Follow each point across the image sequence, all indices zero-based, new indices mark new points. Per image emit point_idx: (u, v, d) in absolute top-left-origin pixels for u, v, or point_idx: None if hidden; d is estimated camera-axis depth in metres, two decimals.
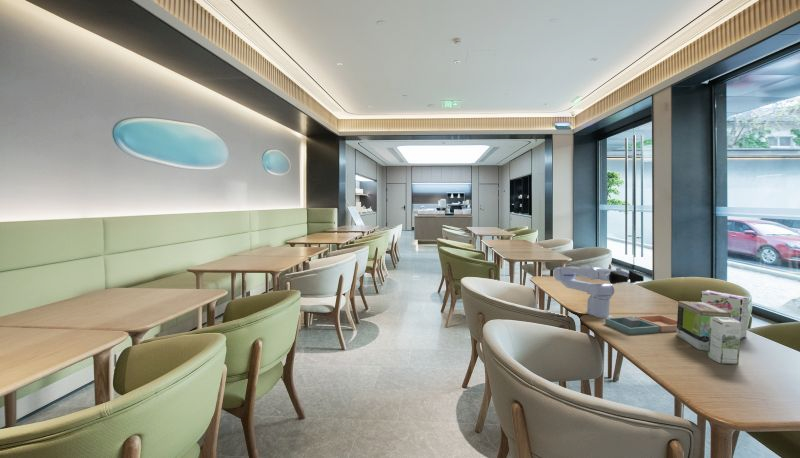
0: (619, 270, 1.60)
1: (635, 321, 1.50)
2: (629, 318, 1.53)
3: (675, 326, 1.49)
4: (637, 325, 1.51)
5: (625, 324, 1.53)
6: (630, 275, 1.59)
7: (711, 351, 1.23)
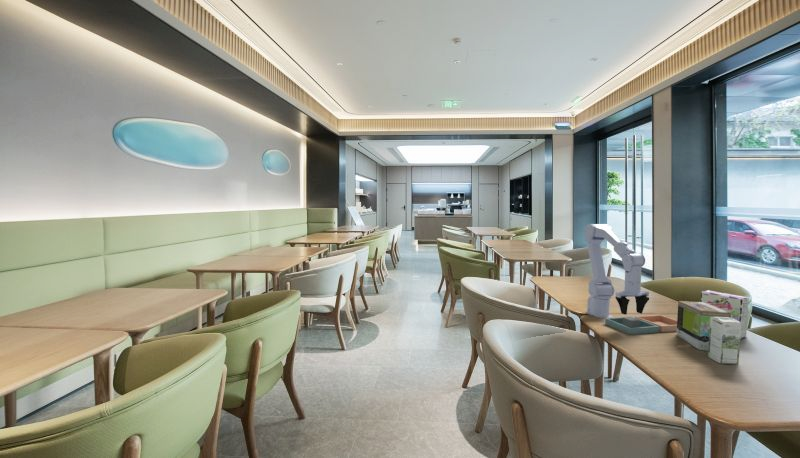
0: None
1: (635, 321, 1.50)
2: (629, 318, 1.53)
3: (675, 326, 1.49)
4: (637, 325, 1.51)
5: (625, 324, 1.53)
6: (641, 298, 1.52)
7: (711, 351, 1.23)
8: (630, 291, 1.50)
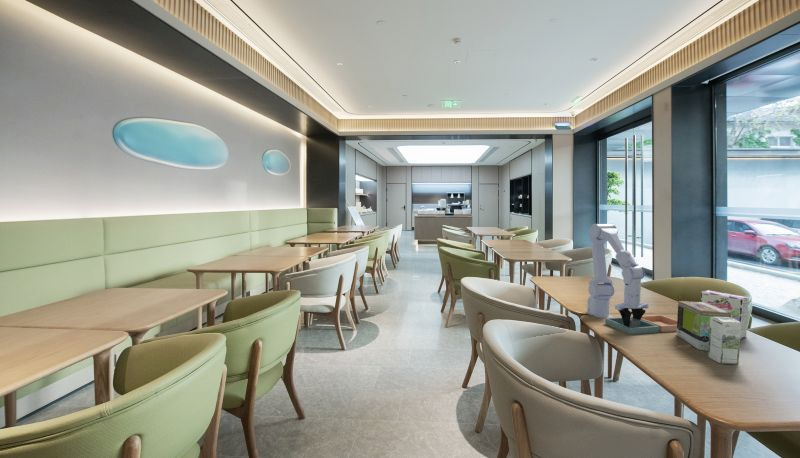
0: (637, 307, 1.50)
1: (635, 321, 1.50)
2: None
3: (675, 326, 1.49)
4: (637, 325, 1.51)
5: None
6: (637, 311, 1.52)
7: (711, 351, 1.23)
8: (629, 304, 1.51)
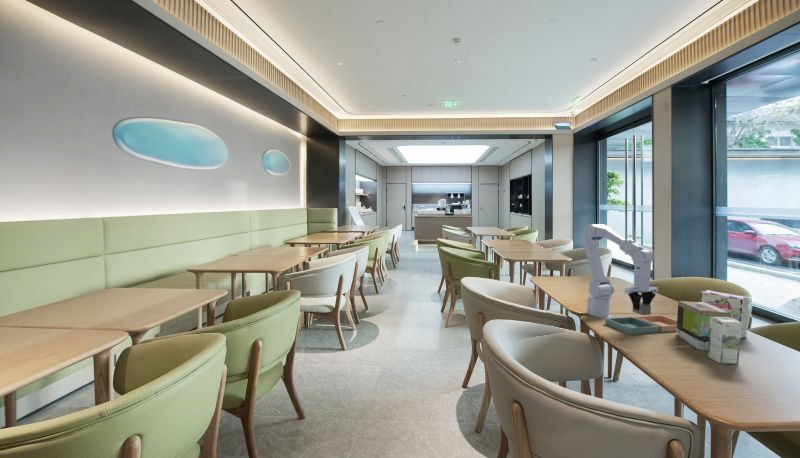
0: (647, 291, 1.50)
1: (646, 306, 1.50)
2: None
3: (675, 326, 1.49)
4: (647, 310, 1.51)
5: None
6: (647, 294, 1.53)
7: (711, 351, 1.23)
8: (639, 287, 1.51)
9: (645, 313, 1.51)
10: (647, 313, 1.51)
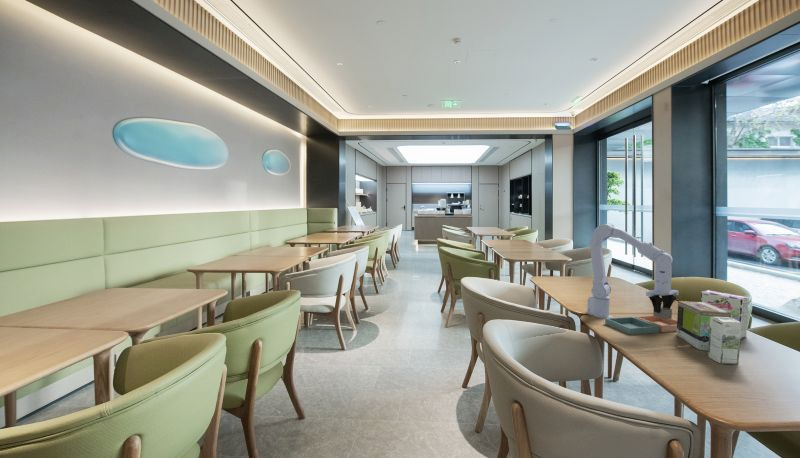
0: None
1: (667, 310, 1.52)
2: None
3: (675, 326, 1.49)
4: (669, 314, 1.53)
5: (656, 313, 1.56)
6: (667, 297, 1.55)
7: (711, 351, 1.23)
8: (661, 290, 1.53)
9: (666, 317, 1.53)
10: (668, 317, 1.53)
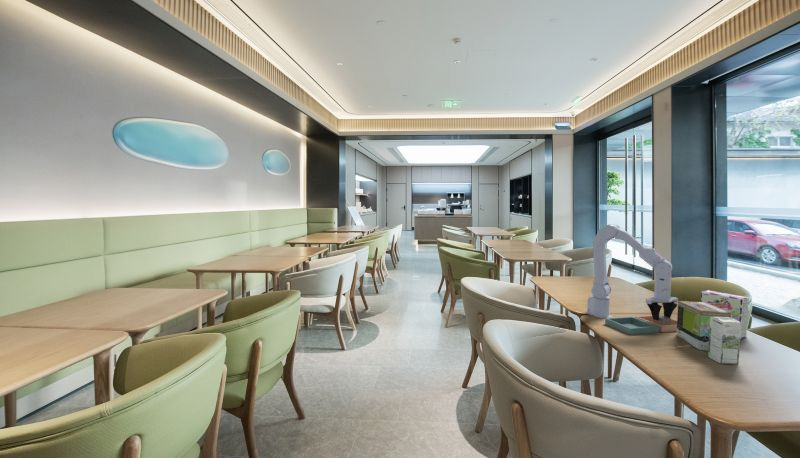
0: (668, 301, 1.52)
1: (666, 319, 1.53)
2: (660, 316, 1.55)
3: (675, 326, 1.49)
4: (668, 323, 1.53)
5: (656, 322, 1.56)
6: (668, 305, 1.55)
7: (711, 351, 1.23)
8: (660, 298, 1.53)
9: None
10: None
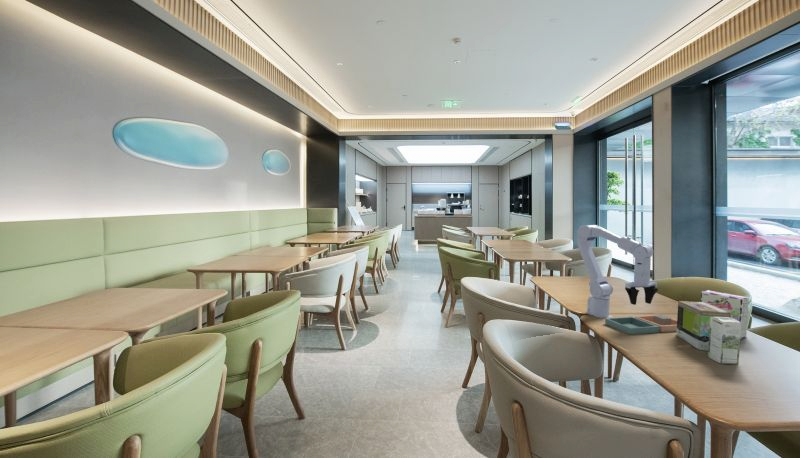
0: (647, 285, 1.54)
1: (666, 319, 1.53)
2: (660, 316, 1.55)
3: (675, 326, 1.49)
4: (668, 323, 1.53)
5: (656, 322, 1.56)
6: (649, 289, 1.57)
7: (711, 351, 1.23)
8: (640, 282, 1.54)
9: None
10: None
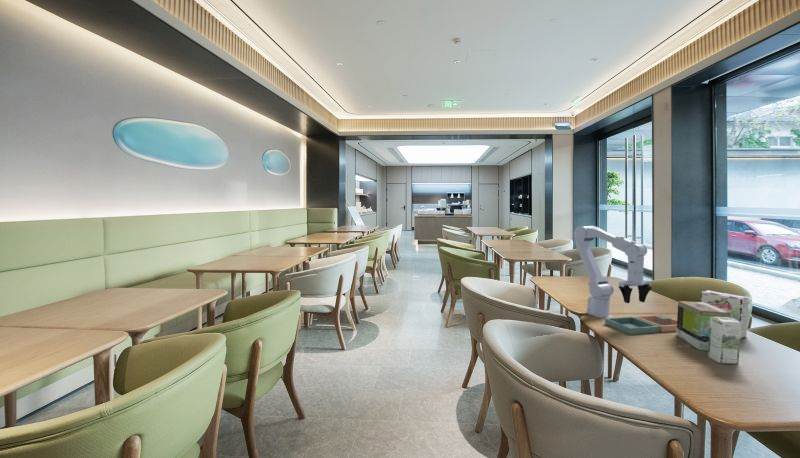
0: None
1: (666, 319, 1.53)
2: (660, 316, 1.55)
3: (675, 326, 1.49)
4: (668, 323, 1.53)
5: (656, 322, 1.56)
6: (643, 287, 1.57)
7: (711, 351, 1.23)
8: (633, 280, 1.55)
9: None
10: None
